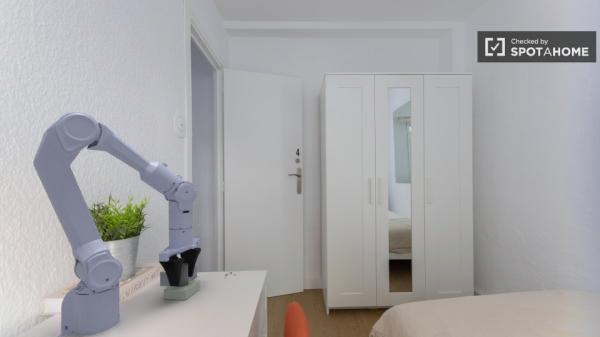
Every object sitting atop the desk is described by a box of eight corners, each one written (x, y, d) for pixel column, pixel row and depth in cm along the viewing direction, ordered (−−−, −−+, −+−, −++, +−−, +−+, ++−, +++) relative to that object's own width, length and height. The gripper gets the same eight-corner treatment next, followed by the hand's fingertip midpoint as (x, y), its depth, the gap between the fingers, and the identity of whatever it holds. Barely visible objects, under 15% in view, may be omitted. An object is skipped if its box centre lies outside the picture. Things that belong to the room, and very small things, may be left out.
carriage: (163, 298, 66) (163, 268, 66) (178, 288, 72) (178, 260, 72) (186, 300, 65) (185, 269, 65) (199, 289, 71) (199, 261, 71)
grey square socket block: (160, 290, 74) (160, 272, 74) (175, 280, 81) (175, 263, 81) (183, 291, 73) (183, 272, 73) (197, 281, 80) (196, 264, 80)
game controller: (240, 283, 78) (239, 274, 79) (198, 288, 76) (198, 278, 76) (240, 276, 84) (240, 268, 84) (202, 280, 82) (202, 271, 82)
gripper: (178, 233, 61) (178, 294, 61) (209, 222, 75) (210, 271, 75) (150, 233, 62) (151, 292, 62) (186, 222, 76) (187, 270, 76)
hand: (181, 281), depth 68 cm, fingers open, 5 cm apart
